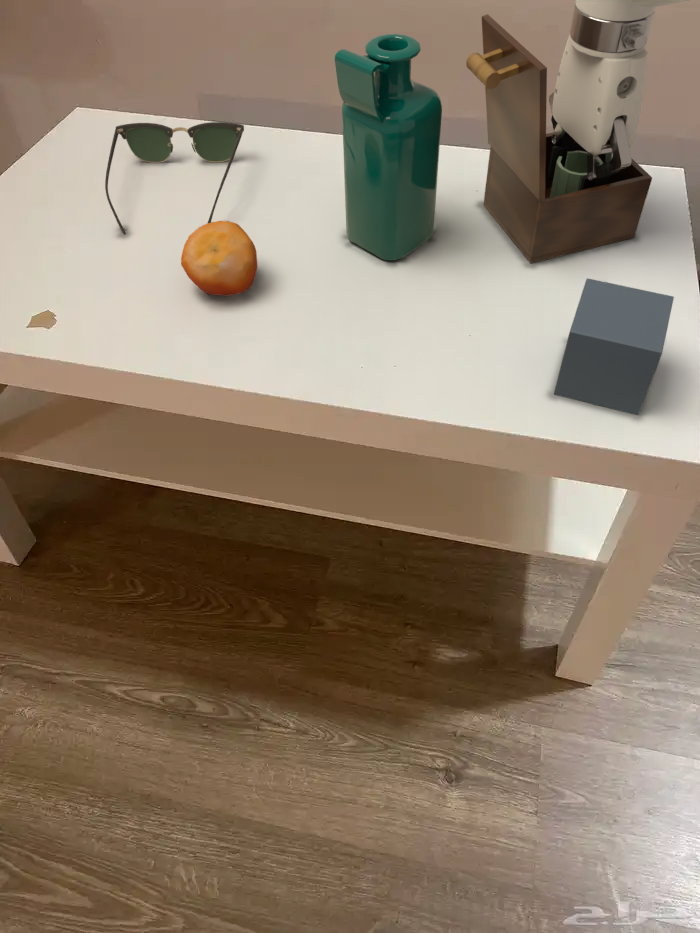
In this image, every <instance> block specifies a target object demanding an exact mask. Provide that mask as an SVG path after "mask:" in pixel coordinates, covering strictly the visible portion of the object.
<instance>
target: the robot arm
mask: <svg viewBox="0 0 700 933" xmlns="http://www.w3.org/2000/svg"><path fill="white" fill-rule="evenodd" d="M688 1H689V0H575V1H574V2H575V3H574V8H573V13H572V19H571V24H570V30H569V35H568V38H567V41H566V44H565V47H564V50H563V53H562V57H561V60H560V65H559V69H558V73H557V78H556V82H555V87H554V91H553V92H552V93H551V94H549V97H548V103H549V108H550V112H551V118H550V121H551V124H552V130H553V131H552V132H553V134H552V136H551V141H552V144H553V145H555V146H553V147H552V153H551V158H550V163H549V169H548V174H547V177H548V178H549V179H550V180H553V178H554V173H555V168H556V163H557V160H558V157H559V156H561V157H562V161H561V164H562V166H563V167H565V162H566V157H567V152H569V151H578V150H579V145H580V146H582V147H583V148H584V149H585V150H586V151H587V176H584V177H583V178H582V182H581V186H580V190H585V189H589V188H593V187H597V186H602V185H606V184H608V183H609V179H610V177H612V176H614V175H615V174H616V173H618V172H619V171H621V170H622V169H624V168H626V167H628V166H630V165H631V162H632V160H631V158H632V156H631V149H630V148H631V147H632V146H633V143H634V141H635V138H636V134H637V130H638V125H639V123H640V122H639V121H640V116H641V113H642V107H643V101H644V96H645V91H646V90H645V89H646V84H647V73H648V63H649V61H648V60H649V52H648V50H646V46H647V43H648V40H649V36H650V32H651V28H652V24H653V20H654V16H655V12H656V9H657V8H658V7H663V6H668V5H672V4H679V3H683V2H688ZM574 140H575V142H574ZM606 142H607V145H606V146H603V145H605V144H606ZM602 154H605V163H603V164H601V165H599V166H598V155H602Z"/></svg>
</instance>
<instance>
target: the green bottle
mask: <svg viewBox="0 0 700 933" xmlns="http://www.w3.org/2000/svg"><path fill="white" fill-rule="evenodd" d="M364 47H365V53H366V54H367V55H361V54H359V53H356V52H353V51H351V50H349V49H346V48H342V49H339V50H338V51H337V52H336V53H335V55H334V66H335V73H336V80H337V81H336V82H337V88H338V92H339V95H340V98H341V100H342V101H343V102H342V105H341V109H342V110H341V118H342V119H341V120H342V145H343V146H342V147H343V149H342V150H343V170H344V171H343V173H344V174H343V175H344V203H345V204H344V205H345V231H346V232H345V233H346V234H345V235H346V238H347V239H348V241H349V242H351V243H353V244H355V245H357V246H358V247H360V248H362V249H363V250H365V251H367V252H369V253H371V254H372V255H374V256H376V257H378V258H380V260H381V259H382V260H384V261H385V260H386V261H399V260H401V259H402V258H404V257H406V256H407V255H409V254H410V253H411V252H413V251H414V250H416V249H418V248H419V247H420V246H422V245H423V244H425V243H426V242H428V241H429V240H431V238H432V236H433V235H434V233H435V220H436V219H435V218H436V204H437V203H436V202H437V189H438V175H439V174H438V173H439V162H440V161H439V160H440V159H439V158H440V145H441V131H442V117H443V116H442V114H443V106H442V105H443V104H442V100H441V97H440V95H439V93H438V92H437V91H436V90H435V89H433V88H432V87H429V86H426V85H424V84H422V83H419V82H417V81H415V80H412V78H411V74H412V59H414V58H416V57H417V56H418V55H419V53H420V52H421V51H422V49H421V43H420V42H419V41H418V40H417V39H415V38H414V37H412V36H410V35H407V34H401V33H385V34H381V35H377V36H375V37H373V38H371V39H370V40H369V41H367V43H366V44H365V46H364Z"/></svg>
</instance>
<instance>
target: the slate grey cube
mask: <svg viewBox="0 0 700 933" xmlns="http://www.w3.org/2000/svg"><path fill="white" fill-rule="evenodd" d="M674 299H675V296H673V295H669V294H664V293H659V292H654V291H649V290H645V289H639V288H635V287H630V286H626V285H621V284H616V283H611V282H607V281H602V280H597V279H594V278H593V279H592V278H586V279H585V282H584V284H583V288H582V292H581V295H580V298H579V301H578V304H577V307H576V310H575V314H574V316H573V320H572V323H571V327H570V328H569V329H570V330H569V333H568V337H567V341H566V344H565V348H564V353H563V355H562V360H561V364H560V368H559V371H558V375H557V380H556V384H555V387H554V390H553V395H556V396H560V397H563V398H567V399H571V400H576V401H580V402H584V403H588V404H592V405H596V406H600V407H604V408H608V409H612V410H616V411H620V412H624V413H628V414H632V415H636V416H638V415H639V413H640V411H641V409H642V406H643V403H644V401H645V398H646V396H647V394H648V391H649V388H650V385H651V383H652V380H653V379H654V375H655V372H656V371H657V368H658V365H659V362H660V360H661V357H662V355H663V351H664V346H665V342H666V337H667V332H668V328H669V322H670V319H671V314H672V308H673V305H674V304H673V303H674Z"/></svg>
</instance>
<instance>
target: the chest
mask: <svg viewBox="0 0 700 933" xmlns="http://www.w3.org/2000/svg"><path fill="white" fill-rule="evenodd" d="M553 132H554V131H552V132H546V173H545V199H543V200H540V201H539V200H538V199H537V198H536V197H535V196H534V194H533V193H532V192H531V191H530V190H529V189H528V188H527V186H526V185H525V184H524V183H523V182H522V181H521V180H520V179H519V177H518V176H517V175H516V174H515V173H514V172H513V171H512V170H511V168H510V167H509V166H508V165H507V164H506V163H505V162H504V161H503V159H502V158H501V157H500V156H499V155H498V154H497V153H496V151H495V150H494V149H493V148H492V147H491V146H490V145H489V146H490V148H489V155H488V163H487V172H486V179H485V187H484V196H483V206H484V208H485V209H486V210H487V211H488V213H489V214H490V215H491V216H492V217H493V219H494V220H495V221H496V222H497V224H498V225H499V226H500V228H501V229H502V230H503V231H504V232H505V234H506V235H507V236H508V238H509V239H510V240H511V241H512V242H513V244H514V245H515V246H516V248H517V249H518V250H519V251H520V253H521V254H522V255H523V256H524V258H525V259H526V260H527V262H529V264H534V263H538V262H541V261H546V260H549V259H553V258H554V259H555V258H557V257H562V256H565V255H570V254H573V253H578V252H582V251H586V250H590V249H595V248H599V247H603V246H607V245H610V244H614V243H618V242H623V241H626V240H630V239H634V238H635V237H636V233H637V230H638V227H639V223H640V220H641V217H642V213H643V210H644V207H645V203H646V200H647V198H648V194H649V190H650V187H651V184H652V180H653V177H652V176H651V175H650V174H649V172H647V171H646V170H645V169H644V168H643V167H642V166H641V165H640V164H639V163H638V162H636V161H635V160H634V159H633V158H632V157H631V160H632V162H631V165H630V166H628V167H626V168H624V169H622V170H621V171H619V172H618V173H616V174H615V175H614V176H612V177H610V179H609V183H608V184H606V185H602V186H597V187H593V188H589V189H585V190H580V191H576V192H572V193H567V194H563V195H559V196H554V197H550V193H551V188H552V183H553V180H550V179H549V178H548V177H547V174H548V169H549V163H550V158H551V153H552V147H553V146H555V145H553V144H552V141H551V136H552V134H553ZM574 142H575V140H574ZM606 145H607V142H606V144H605V145H603V146H606ZM578 151H584V152H587V151H586V150H585V149H584V148H583V147H582V146H580V145H579V150H578ZM598 157H599V158H600V159H601V161H602V162H603V163H605V154H602V155H598Z"/></svg>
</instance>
